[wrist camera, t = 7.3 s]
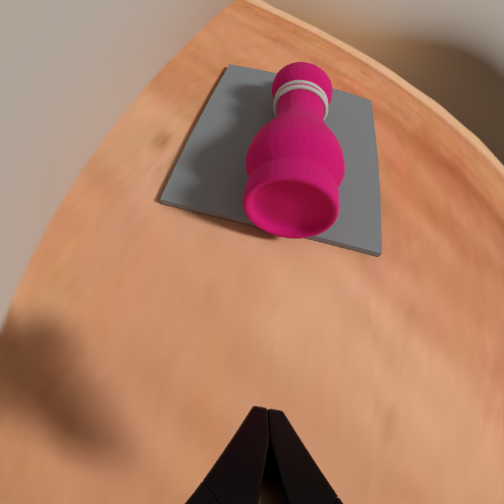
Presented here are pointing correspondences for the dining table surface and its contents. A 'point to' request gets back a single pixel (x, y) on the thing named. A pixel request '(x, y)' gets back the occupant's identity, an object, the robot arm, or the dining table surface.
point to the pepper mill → (295, 158)
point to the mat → (237, 144)
